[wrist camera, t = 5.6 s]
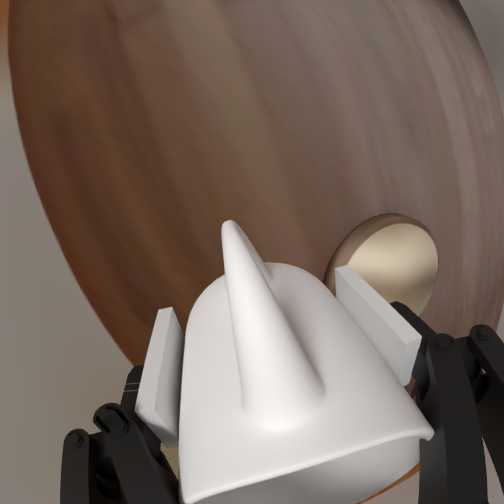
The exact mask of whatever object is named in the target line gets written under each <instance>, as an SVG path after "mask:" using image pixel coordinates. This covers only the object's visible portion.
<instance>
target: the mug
mask: <svg viewBox="0 0 504 504" xmlns="http://www.w3.org/2000/svg"><path fill="white" fill-rule="evenodd" d="M222 245H223V255H224V267H225V275H223V276H221V277H220V278H218V279H217V280H215V281H214V282H213V283H212V284H211V285H209V286H208V287H207V288H206V289H205V290H204V291H203V293H202V294H201V295H200V296H199V298H198V299H197V301H196V302H195V304H194V306H193V309H192V311H191V313H190V316H189V319H188V323H187V328H186V336H185V346H184V358H183V371H182V385H181V402H180V424H179V503H180V504H355V503H358V502H360V501H362V500H364V499H366V498H368V497H370V496H372V495H374V494H376V493H377V492H379V491H381V490H383V489H384V488H386V487H387V486H389V485H391V484H392V483H394V482H395V481H397V480H398V479H399V478H401V477H402V476H403V475H405V474H406V473H407V472H408V471H410V470H411V469H412V468H413V467H414V466H415V465H417V464H418V463H419V462H420V449H419V439H421V438H422V439H426V440H427V441H429V440H430V439H431V438H432V437H433V435H434V430H433V428H432V427H431V425H430V424H429V422H428V421H427V419H426V418H425V417H424V415H423V414H422V412H421V411H420V409H419V408H418V407H417V405H416V404H415V402H414V401H413V400H412V398H411V397H410V395H409V394H408V393H407V391H406V390H405V388H404V387H403V386H402V384H401V383H400V382H399V380H398V379H397V377H396V376H395V375H394V373H393V372H392V371H391V369H390V368H389V367H388V365H387V364H386V363H385V361H384V360H383V359H382V357H381V356H380V355H379V353H378V352H377V351H376V349H375V348H374V347H373V345H372V344H371V343H370V341H369V340H368V339H367V337H366V336H365V335H364V334H363V332H362V331H361V330H360V328H359V327H358V326H357V324H356V323H355V322H354V321H353V319H352V318H351V317H350V316H349V314H348V313H347V312H346V310H345V309H344V308H343V307H342V305H341V304H340V303H339V302H338V300H337V299H336V298H335V297H334V295H333V294H332V293H331V292H330V290H329V289H328V288H327V287H326V286H325V285H324V284H323V283H322V282H321V281H320V280H319V279H317V278H316V277H315V276H313V275H312V274H310V273H308V272H307V271H305V270H303V269H300V268H298V267H296V266H292V265H288V264H282V263H263V261H262V259H261V258H260V256H259V255H258V253H257V252H256V250H255V248H254V247H253V245H252V244H251V242H250V241H249V239H248V237H247V236H246V234H245V233H244V232H243V230H242V229H241V228H240V227H239V225H238V224H237V223H236V222H234V221H232V220H228V221H225V222H224V223H223V225H222Z"/></svg>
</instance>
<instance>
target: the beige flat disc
mask: <svg viewBox="0 0 504 504" xmlns="http://www.w3.org/2000/svg"><path fill="white" fill-rule="evenodd" d="M345 265H348V266H349V267H350V268H351V269H353V270H354V271H355V272H356V273H357V274H358V275H359V276H360V277H361V278H362V279H363V280H364V281H366V282H367V283H368V284H369V285H370V286H371V287H372V288H373V289H374V290H375V291H376V292H377V293H378V294H379V295H380V296H381V297H382V298H384V299H385V300H386V301H387V302H388V303H389V304H390V303H392V302H395V301H398V302H400V303H402V304H405V305H406V306H407V307H409V308H410V309H411V310H412V312H414V313H415V314H416V315H417V316H419V314H420V313H421V312H422V310H423V309H424V307H425V306H426V304H427V302H428V301H429V299H430V297H431V294H432V292H433V289H434V286H435V283H436V279H437V275H438V267H439V256H438V249H437V245H436V242H435V239H434V237H433V235H432V233H431V232H430V231H429V229H428V228H427V227H426V226H425V225H424V224H422V223H421V222H419V221H417V220H415V219H412V218H410V217H407V216H404V215H401V214H396V213H387V214H381V215H378V216H374V217H372V218H370V219H368V220H366V221H364V222H363V223H361V224H360V225H358V226H357V227H356V228H355V229H353V230H352V231H351V232H350V233H349V234H348V235H347V236H346V237H345V238H344V240H343V241H342V242H341V244H340V245H339V246H338V248H337V249H336V251H335V253H334V254H333V256H332V258H331V260H330V262H329V264H328V267H327V270H326V273H325V276H324V281H323V284H324V285H325V286H326V287H327V288H328V289H329V290H330V292H331V293H332V294H333V295H334V297H335V298H336V281H335V268H338V267H341V266H345Z"/></svg>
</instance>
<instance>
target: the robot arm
mask: <svg viewBox="0 0 504 504" xmlns="http://www.w3.org/2000/svg"><path fill="white" fill-rule="evenodd" d="M335 281H336V299H337V300H338V302H339V303H340V304H341V305H342V307H343V308H344V309H345V310H346V312H347V313H348V314H349V316H350V317H351V318H352V319H353V321H354V322H355V323H356V324H357V326H358V327H359V328H360V330H361V331H362V332H363V334H364V335H365V336H366V337H367V339H368V340H369V341H370V343H371V344H372V345H373V347H374V348H375V349H376V351H377V352H378V353H379V355H380V356H381V357H382V359H383V360H384V361H385V363H386V364H387V365H388V367H389V368H390V369H391V371H392V372H393V373H394V375H395V376H396V377H397V379H398V380H399V382H400V383H401V384H402V386H403V387H404V386H406V385H408V384H409V382H410V379H411V376H413V377H414V378H415V380H416V382H415V385H414V388H413V391H412V394H411V398H413V397H414V395H416V404H417V407H418V408H419V409H420V411H421V412H422V414H423V415H424V417H425V418H426V419H427V421H428V422H429V424H430V425H431V427H432V428H433V430H434V435H433V437H432V438H431V439H430V440H429V441H427V440H426V439H422V438H421V439H419V449H420V480H419V481H420V482H419V500H418V504H489V503H488V496H487V474H486V464H485V455H484V447H483V440H482V437H483V439H484V441H485V444H486V446H487V449H488V451H489V454H490V456H491V459H492V461H493V464H494V467H495V469H496V472H497V475H498V478H499V481H500V484H501V487H502V491H503V494H504V343H503V341H502V340H501V339H500V338H499V336H498V335H497V334H496V333H495V332H494V330H493V329H492V328H490V327H489V326H486V325H482V324H479V325H475V326H474V327H472V329H471V330H470V333H469V336H466V337H462V338H458V339H454V338H453V337H451V336H450V335H447V334H440V333H439V334H436V333H435V332H434V331H433V330H432V329H431V328H430V327H429V326H428V325H427V324H426V323H425V322H424V321H423V320H421V319H420V318H419V317H418V316H417V315H416V314H415V313H414V312H412V310H411V309H410V308H409V307H407V306H406V305H405V304H402V303H400V302H398V301H395V302H392V303H390V304H389V303H388V302H387V301H386V300H385V299H384V298H382V297H381V296H380V295H379V294H378V293H377V292H376V291H375V290H374V289H373V288H372V287H371V286H370V285H369V284H368V283H367V282H366V281H364V280H363V279H362V278H361V277H360V276H359V275H358V274H357V273H356V272H355V271H354V270H353V269H351V268H350V267H349V266H348V265H345V266H341V267H338V268H335ZM184 346H185V337H184V335H183V333H182V330H181V328H180V325H179V323H178V320H177V318H176V315H175V313H174V310H173V308H172V307H170V308H165V309H160V310H159V311H158V314H157V318H156V322H155V325H154V329H153V333H152V336H151V340H150V344H149V348H148V352H147V356H146V360H145V365H142V366H134V368H133V369H132V370H131V372H130V373H129V374H128V377H127V381H126V385H125V389H124V392H123V396H122V400H121V404H120V405H119V404H117V403H108V404H105V405H103V406H101V407H99V409H98V410H97V411H96V412H95V414H94V416H93V423H94V424H95V425H96V426H97V427H98V428H99V429H100V430H101V431H102V432H98V433H95V434H91V435H89V434H88V433H87V432H86V431H84V430H83V429H75V430H72V431H71V432H69V433H68V434H67V436H66V437H65V440H64V445H63V454H62V467H61V488H60V504H180V503H179V481H178V479H177V478H176V476H175V474H174V473H173V470H172V469H171V467H170V465H169V463H168V461H167V459H166V457H165V455H164V454H163V452H162V451H161V450H160V446H161V442H162V443H163V445H164V446H165V447H166V448H173V447H179V424H180V402H181V385H182V371H183V358H184ZM482 368H483V369H484V371H485V372H486V373H483V371H482Z"/></svg>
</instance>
